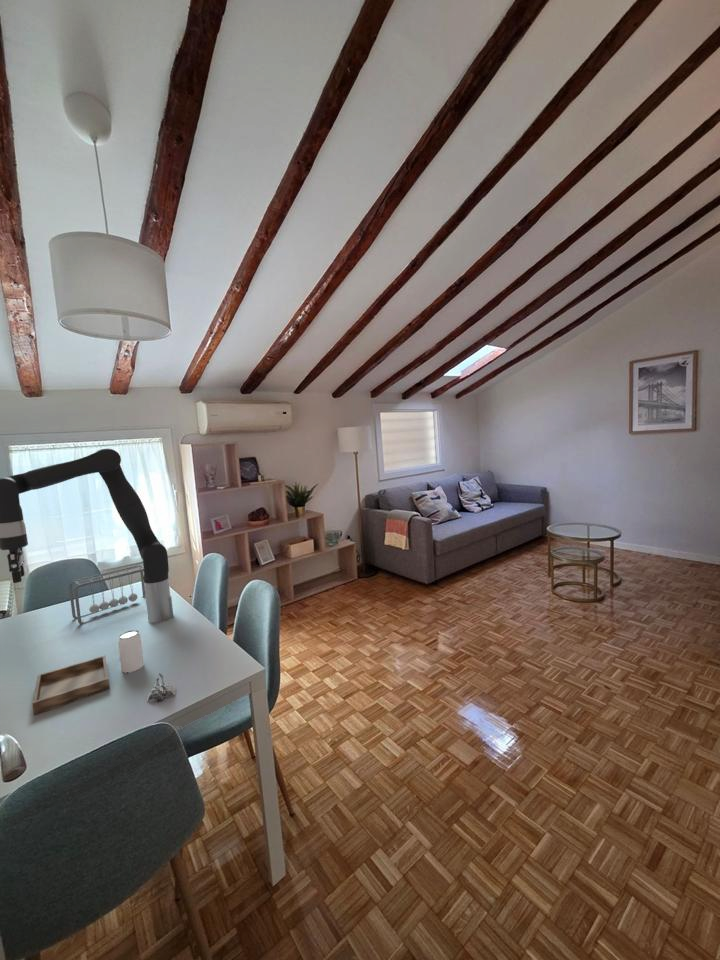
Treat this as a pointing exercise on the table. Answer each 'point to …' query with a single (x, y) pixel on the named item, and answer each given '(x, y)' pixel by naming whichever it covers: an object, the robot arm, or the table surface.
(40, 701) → the tray
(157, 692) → the grey jagged ornament
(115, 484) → the robot arm
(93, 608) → the newton's cradle
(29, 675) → the table surface
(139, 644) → the can
